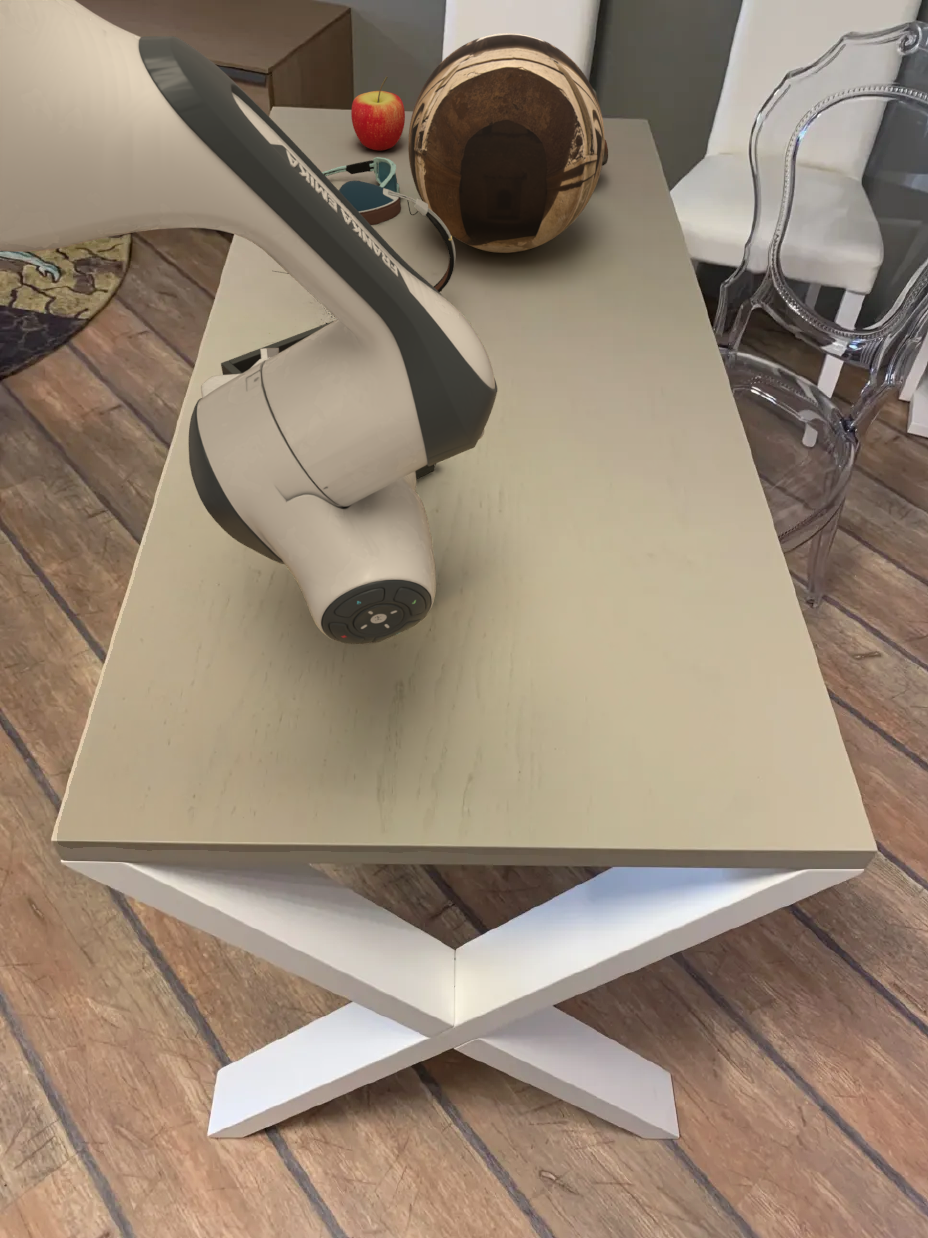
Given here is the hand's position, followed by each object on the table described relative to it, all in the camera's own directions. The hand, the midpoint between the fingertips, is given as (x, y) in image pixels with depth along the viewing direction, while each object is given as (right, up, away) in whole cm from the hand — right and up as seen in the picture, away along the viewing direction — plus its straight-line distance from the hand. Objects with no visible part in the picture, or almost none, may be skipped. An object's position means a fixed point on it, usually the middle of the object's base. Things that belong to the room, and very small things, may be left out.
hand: (329, 351), depth 77 cm
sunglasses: (-6, +39, +60) cm, 71 cm away
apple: (-3, +53, +73) cm, 90 cm away
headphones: (-1, +17, +41) cm, 44 cm away
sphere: (+16, +30, +53) cm, 63 cm away
